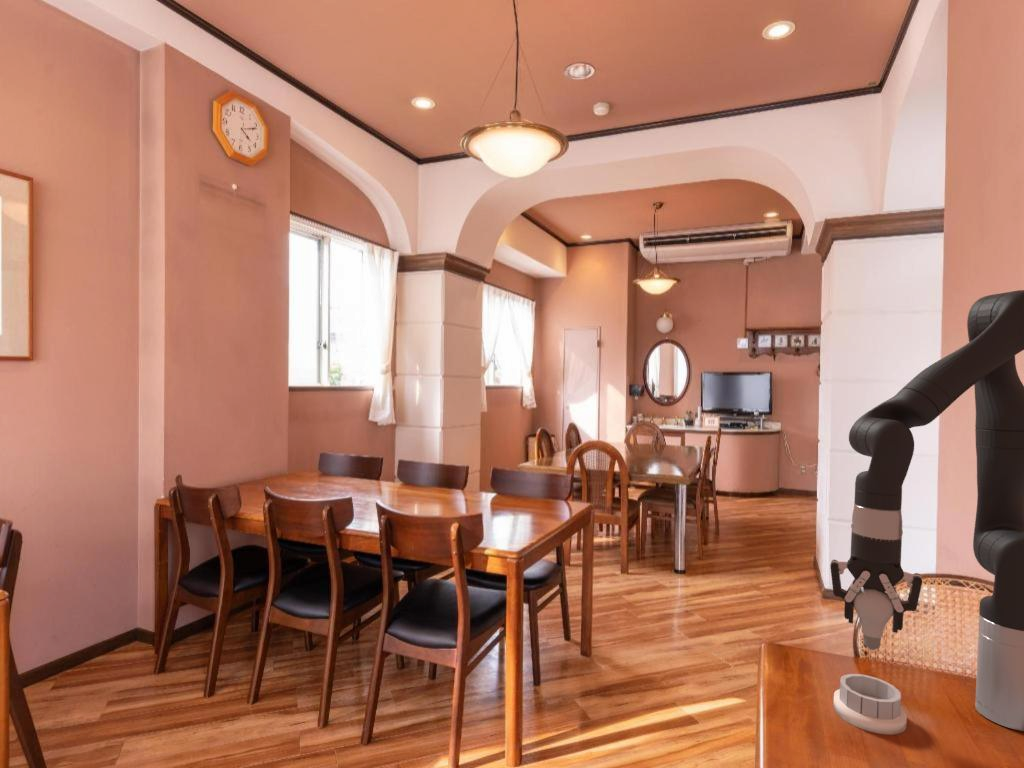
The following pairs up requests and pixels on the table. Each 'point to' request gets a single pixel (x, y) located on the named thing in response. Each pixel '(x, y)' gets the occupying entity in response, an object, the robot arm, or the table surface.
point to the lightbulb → (873, 615)
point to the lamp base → (870, 721)
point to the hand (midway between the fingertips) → (872, 625)
